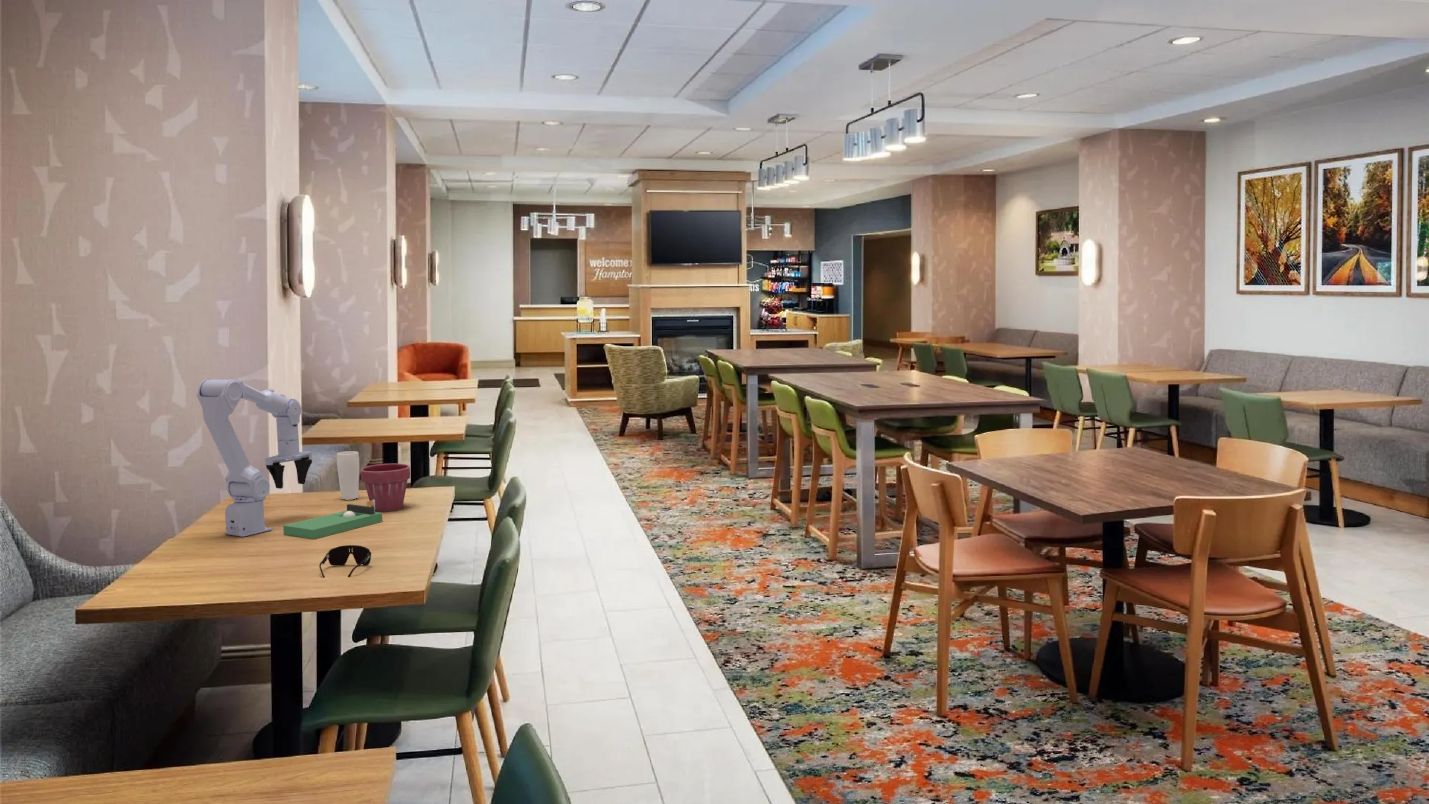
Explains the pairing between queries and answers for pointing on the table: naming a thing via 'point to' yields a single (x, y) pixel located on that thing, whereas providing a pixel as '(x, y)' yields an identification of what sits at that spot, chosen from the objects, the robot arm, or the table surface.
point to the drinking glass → (348, 474)
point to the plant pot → (386, 485)
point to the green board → (334, 522)
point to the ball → (349, 514)
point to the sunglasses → (342, 553)
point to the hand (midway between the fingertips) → (290, 486)
